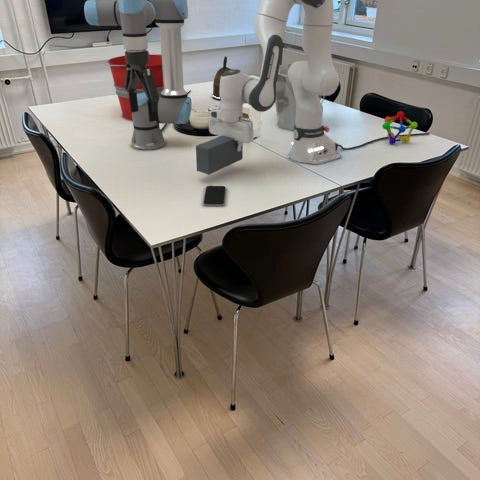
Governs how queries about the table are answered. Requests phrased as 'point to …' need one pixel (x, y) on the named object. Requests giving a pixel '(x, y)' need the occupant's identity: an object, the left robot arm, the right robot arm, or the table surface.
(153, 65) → the bucket
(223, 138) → the box
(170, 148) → the table surface
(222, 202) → the smartphone
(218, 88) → the bell
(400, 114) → the educational toy
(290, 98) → the bucket
